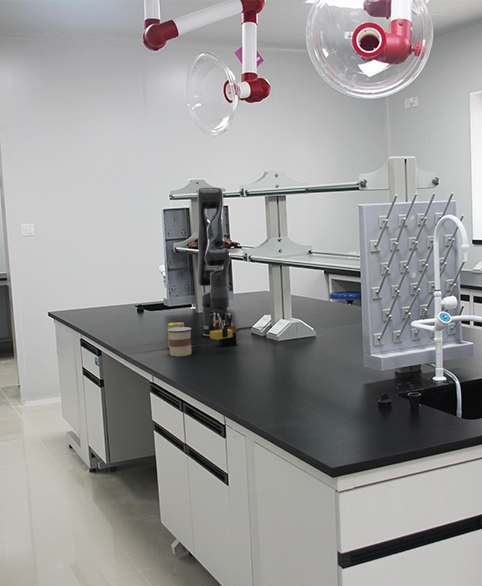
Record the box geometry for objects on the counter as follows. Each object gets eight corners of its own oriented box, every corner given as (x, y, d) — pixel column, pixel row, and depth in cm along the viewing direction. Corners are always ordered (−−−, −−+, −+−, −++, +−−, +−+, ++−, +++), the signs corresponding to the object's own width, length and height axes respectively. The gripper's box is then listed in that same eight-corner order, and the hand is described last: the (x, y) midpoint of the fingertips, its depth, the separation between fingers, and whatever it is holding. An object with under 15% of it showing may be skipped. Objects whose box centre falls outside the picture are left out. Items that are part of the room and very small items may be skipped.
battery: (218, 345, 311) (217, 323, 310) (233, 343, 314) (232, 321, 313) (222, 347, 307) (221, 324, 306) (236, 345, 310) (235, 322, 309)
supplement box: (185, 346, 311) (184, 322, 310) (181, 349, 305) (180, 324, 304) (172, 346, 311) (170, 322, 310) (168, 349, 306) (166, 324, 304)
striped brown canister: (184, 350, 301) (183, 326, 300) (197, 353, 294) (195, 328, 293) (164, 354, 295) (163, 329, 294) (176, 357, 288) (175, 332, 286)
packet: (225, 335, 300) (225, 328, 300) (232, 336, 297) (232, 329, 296) (210, 338, 295) (209, 331, 295) (216, 339, 291) (216, 332, 291)
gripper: (236, 296, 291) (238, 337, 293) (217, 294, 301) (218, 333, 304) (221, 298, 286) (223, 339, 288) (202, 295, 296) (204, 335, 299)
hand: (221, 336), depth 296 cm, fingers closed on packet, 5 cm apart
